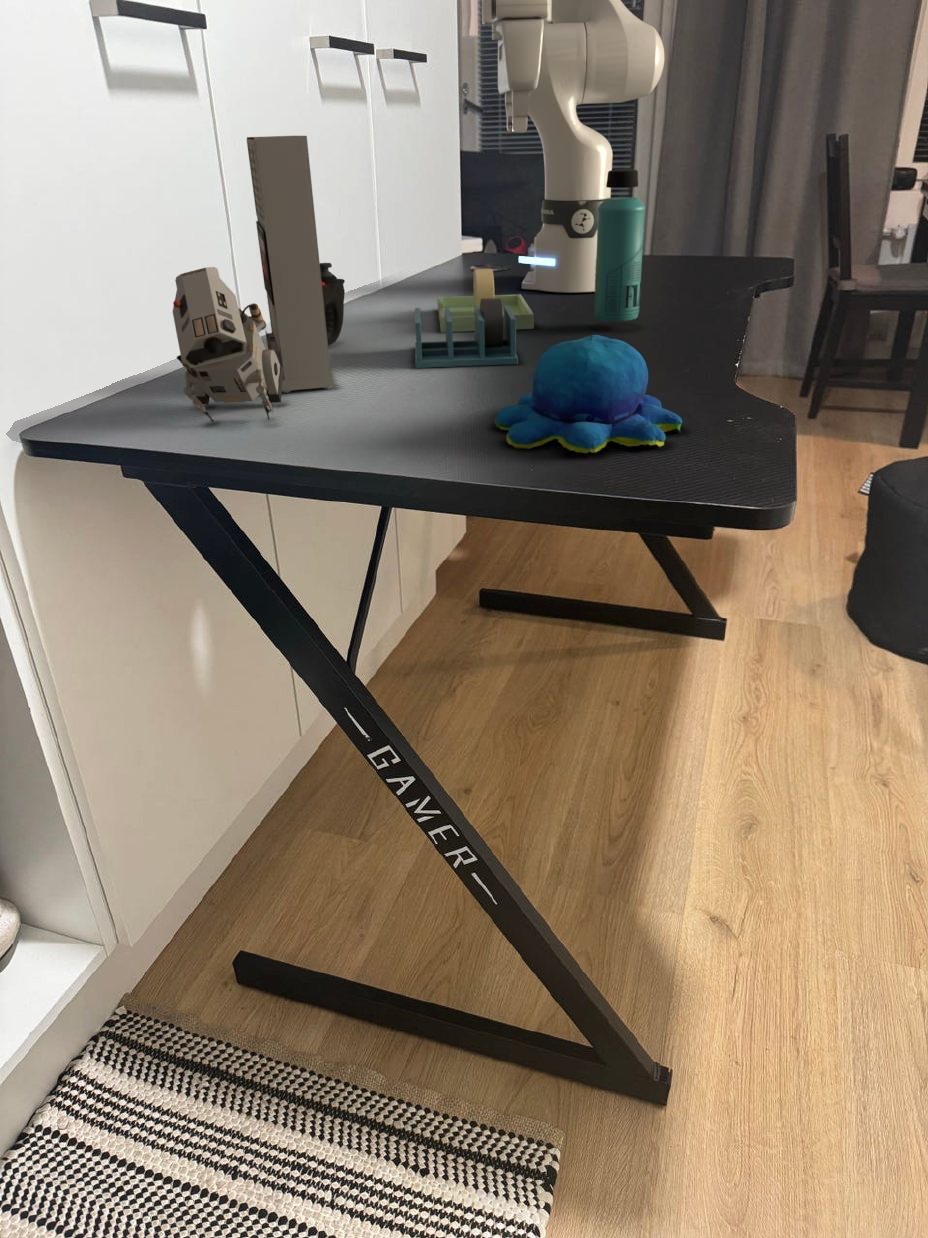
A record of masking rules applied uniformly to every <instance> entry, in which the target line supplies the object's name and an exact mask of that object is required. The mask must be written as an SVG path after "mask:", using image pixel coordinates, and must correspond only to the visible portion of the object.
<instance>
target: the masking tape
mask: <svg viewBox="0 0 928 1238" xmlns="http://www.w3.org/2000/svg"><path fill="white" fill-rule="evenodd" d="M494 279H495V278H494V271H493V269H492V268H476V269H475V268H474V269H473V283H472V284H473V285H472V286H473V287H472V288H473V296H474V306H479V308H480V302H481V299H487V298H494V295H495V280H494Z"/></svg>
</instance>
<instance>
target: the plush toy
mask: <svg viewBox="0 0 928 1238" xmlns="http://www.w3.org/2000/svg"><path fill="white" fill-rule="evenodd" d="M648 383H649V371H648V367H647V362H646V361H645V359H644V357H643V356H642V354H640V352H639V351H638V350H637V349H635V347H634V346H631V345H630V344H629V343H628V342H625V341H623V340H620V339H616V338H609V337H608V336H607V337H606V336H602V335H599V334H592V335H589V336H585V337H584V336H583V337H582V338H579V339H574V340H567V341H561V342H559V343H556V344H554V345H552V346H550V347H549V348H548V349H547V350H546V351H545V352H543V353H542V355H541V357H540V358H539V359H538V362H537V364H536V367H535V369H534V371H533V375H532V391H531V392H529V393H527V394H525V395H522V396H521V397H520V398H519V400H518V401H517V404H516V405H508V406H505V407H503V408H502V409H500V410H499V411H497V414H496V415H495V420H494V424H495V426H496V427H497V428H498V429H500V430H502V431H503V430H504V431H508V432H507V434H506V439H505V440H506V442H507V443H508V445H510V446H513V447H514V449H527V450H530V449H532V448H535V447H536V448H537V447H539V446H542V445H544V444H546V443H548V442H551V441H554V440H557V442H558V443H560V444H561V445H562V447H563V448H564V449H567V450H569V451H573V452H575V453H583V454H588V453H597V452H600V451H601V450H602V449H604V448H605V447H606V446H607V444H608V443H610V442H613V443H618V444H619V445H624V446H626V447H628V448H629V447H634V446H635V447H639V446H640V445H641V446H642V445H644V446H647V445H648V446H655V445H657V446H658V447H659V448H662V446H665V441H666V433H667V432H669V431H672V430H675V429H677V430H678V432H681V426H682V424H683V419H682V417H680V416H679V415H678V414H676V413H675V412H673V411H671V410H668V409H666V408H664V407H662V402H661V401H660V400H659V398H657V397H655V396H652V395H648V394H645V393H646V391H647V388H648Z"/></svg>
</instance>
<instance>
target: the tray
mask: <svg viewBox="0 0 928 1238" xmlns="http://www.w3.org/2000/svg"><path fill="white" fill-rule="evenodd" d="M494 298H501V301H502V308H503V331H504V305H508V306H509V307H510V309H511V311H512V313H513V315H514V317H515V319H516V330H533V329H534V327H535V325H534V323H535V318H534V317H535V314H534V313H533V310H532V309H531V308H530V307H529V304H528V303H527V302H526V300H525V298H524V297H523V296H522V294H521V293H519V294H518V293H517V294H494ZM445 307H449V308H450V313H451V318H452V331H453V333H456V332H457V333H458V332H459V333H460V332H475V324H474V295H465V296H464V295H463V296H462V295H461V296H438V297H437V312H438V321H439V329H440V333H446V331H445Z"/></svg>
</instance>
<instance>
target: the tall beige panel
mask: <svg viewBox="0 0 928 1238" xmlns="http://www.w3.org/2000/svg"><path fill="white" fill-rule="evenodd" d="M246 145H247V153H248V162H249V169H250V177H251V184H252V185H251V186H252V192H253V199H254V201H253V202H254V207H255V215H256V218H257V219H256V221H255V224H256V231H257V238H258V246H259V247H258V248H259V255H260V262H261V269H262V270H261V271H262V277H263V286H264V290H265V292H266V299H267V308H268V314H269V315H268V316H269V321H270V322H269V323H270V330H271V332H270V333H268V332H267V330H266V329H264V330H265V339H266V347H267V350H274V352H275V353H276V356H277V358H278V361H279V364H280V365H281V366H282V368H283V382H282V394H286V393H291V392H292V391H299V390H310V389H322V388H323V390H329V389H332V388H333V387H334V379H333V375H332V371H331V362H330V352H329V345H328V341H327V331H326V321H325V311H324V301H323V292H322V282H321V272H320V263H321V262H320V253H319V244H318V232H317V223H316V214H315V213H316V212H315V204H314V194H313V184H312V173H311V165H310V154H309V143H308V136H307V135H275V136H274V135H273V136H246Z"/></svg>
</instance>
